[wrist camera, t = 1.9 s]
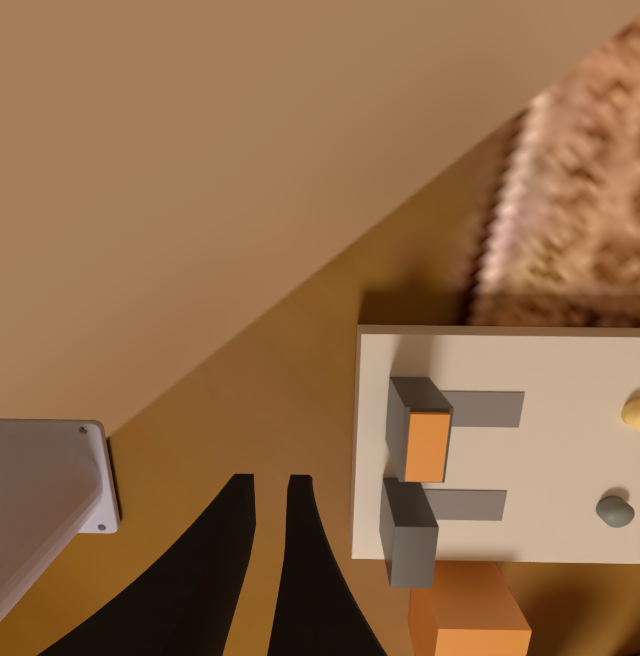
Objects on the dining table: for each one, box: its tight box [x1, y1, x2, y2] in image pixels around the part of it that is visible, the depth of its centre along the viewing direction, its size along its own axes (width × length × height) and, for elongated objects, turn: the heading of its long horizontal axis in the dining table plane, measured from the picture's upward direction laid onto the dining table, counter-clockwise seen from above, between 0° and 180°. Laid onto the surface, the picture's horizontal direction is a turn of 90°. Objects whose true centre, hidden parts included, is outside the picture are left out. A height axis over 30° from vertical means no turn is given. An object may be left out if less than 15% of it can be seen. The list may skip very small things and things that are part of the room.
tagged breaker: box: [385, 377, 454, 483], centre depth 15 cm, size 2×4×3 cm, turn 0°
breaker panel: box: [349, 325, 640, 564], centre depth 18 cm, size 18×14×3 cm
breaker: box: [379, 478, 439, 588], centre depth 17 cm, size 2×4×3 cm, turn 179°
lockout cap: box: [408, 560, 532, 656], centre depth 20 cm, size 5×7×4 cm
